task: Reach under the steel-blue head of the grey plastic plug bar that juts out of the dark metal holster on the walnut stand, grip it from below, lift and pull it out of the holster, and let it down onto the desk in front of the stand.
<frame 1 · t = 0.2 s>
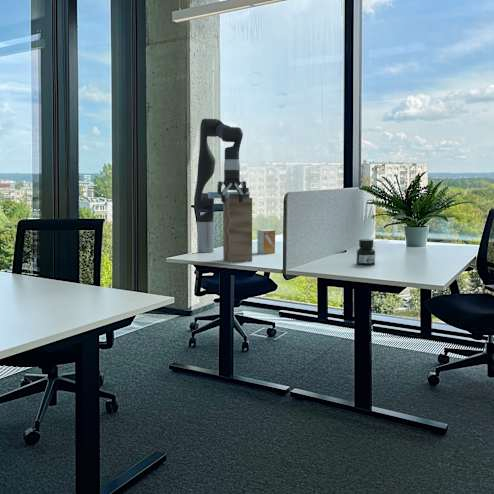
hand: (232, 202, 265), 30 cm above the table, tool pointing down, fingers open, 8 cm apart
small box: (266, 253, 304), on the table
stand: (237, 260, 278), on the table
ink bottle: (365, 264, 267), on the table
plug: (226, 198, 272), point 32 cm above the table, touching stand
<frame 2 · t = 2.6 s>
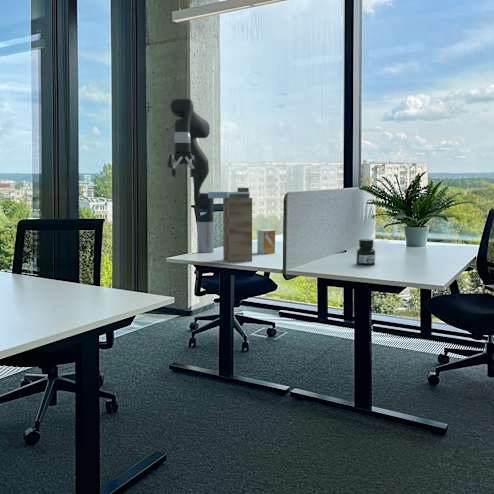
hand: (182, 177, 258), 42 cm above the table, tool pointing down, fingers open, 8 cm apart
nothing on the table moved.
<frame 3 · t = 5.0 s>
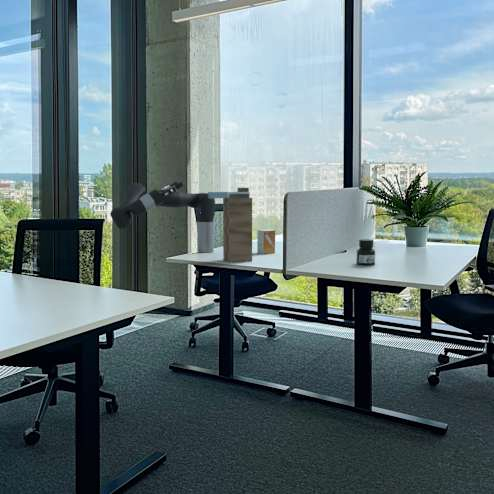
hand: (179, 183, 262), 39 cm above the table, tool pointing upward, fingers open, 8 cm apart
nothing on the table moved.
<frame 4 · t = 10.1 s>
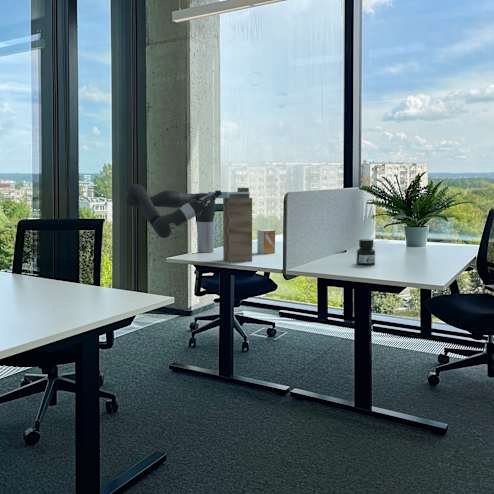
hand: (219, 192, 270), 35 cm above the table, tool pointing upward, fingers closed on plug, 3 cm apart
plug: (226, 198, 272), point 32 cm above the table, touching gripper, stand
everything else where it was.
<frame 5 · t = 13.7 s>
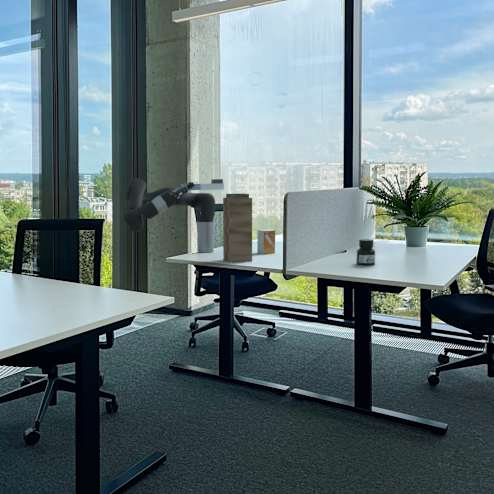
hand: (192, 183, 264), 39 cm above the table, tool pointing upward, fingers closed on plug, 3 cm apart
plug: (199, 189, 265), point 36 cm above the table, touching gripper
everything else where it was.
when the fingers open (26 cm above the table, at t = 17.5 s): plug drops 23 cm, on the table.
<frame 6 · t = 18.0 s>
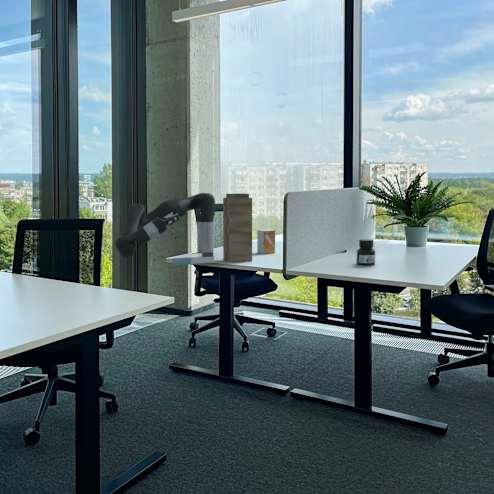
hand: (183, 210, 265), 26 cm above the table, tool pointing upward, fingers open, 7 cm apart
plug: (190, 263, 269), on the table
everything else where it was.
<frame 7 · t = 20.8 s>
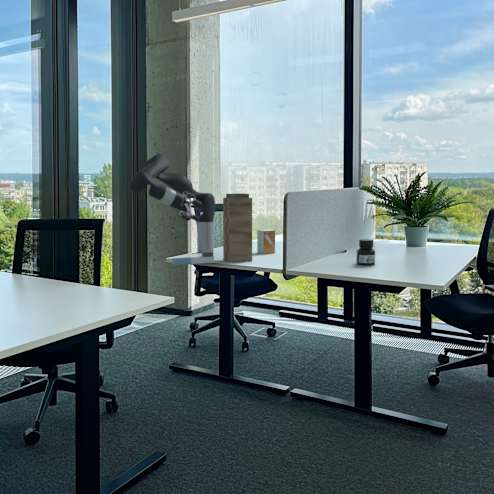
hand: (199, 212, 261), 26 cm above the table, tool tilted 65°, fingers open, 8 cm apart
nothing on the table moved.
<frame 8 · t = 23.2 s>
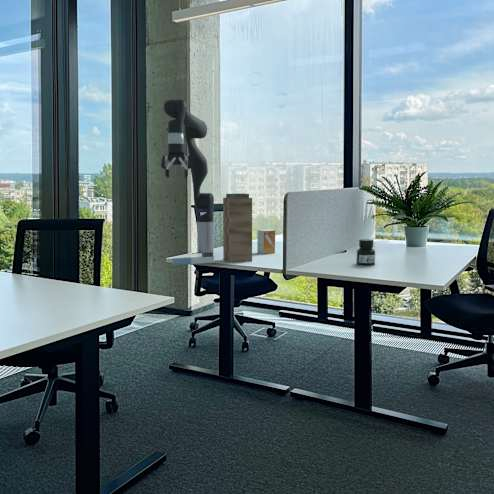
hand: (176, 177, 259), 42 cm above the table, tool pointing down, fingers open, 8 cm apart
nothing on the table moved.
at the end: plug inside the target area (1.5 cm from its centre), on the table; plug touching table; the gripper is holding nothing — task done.
